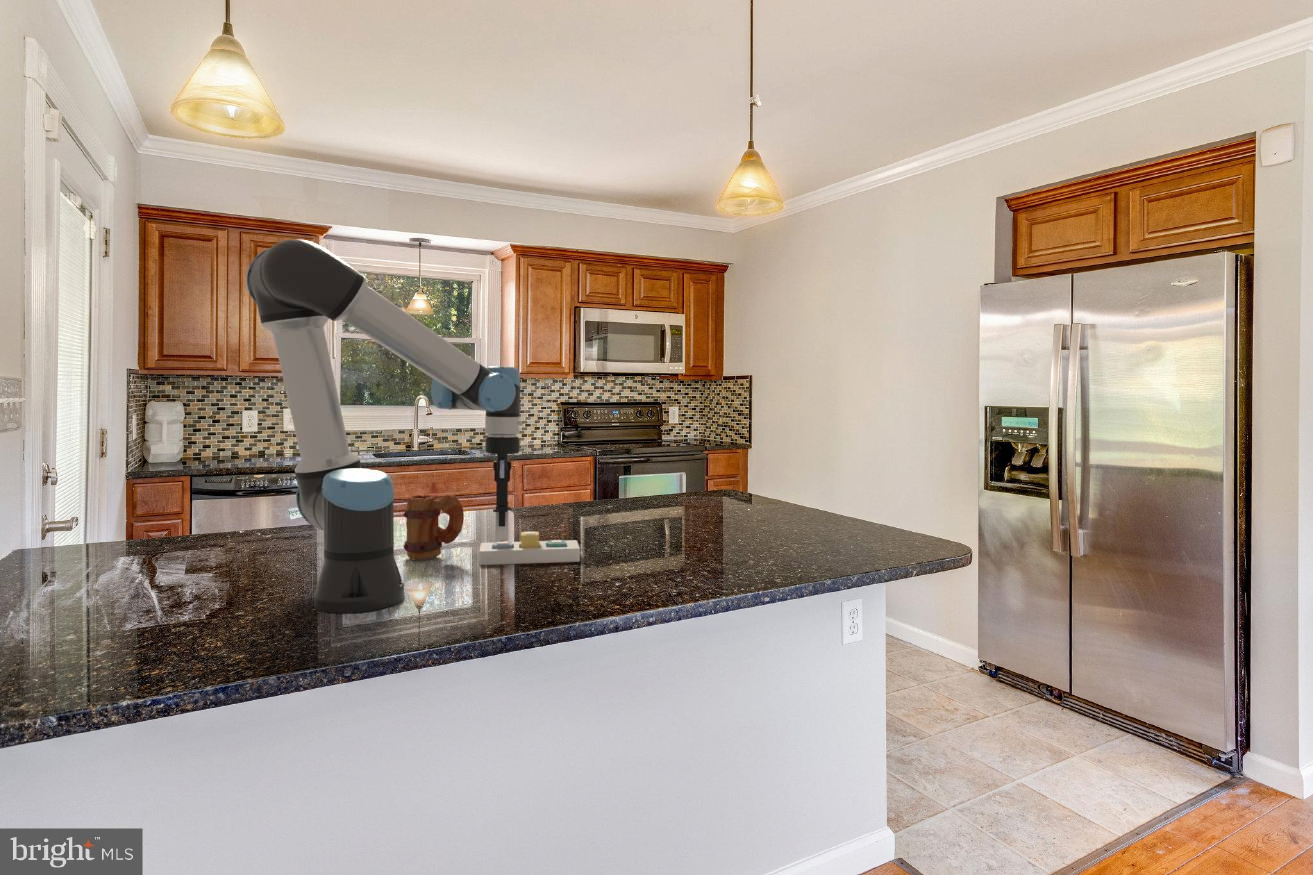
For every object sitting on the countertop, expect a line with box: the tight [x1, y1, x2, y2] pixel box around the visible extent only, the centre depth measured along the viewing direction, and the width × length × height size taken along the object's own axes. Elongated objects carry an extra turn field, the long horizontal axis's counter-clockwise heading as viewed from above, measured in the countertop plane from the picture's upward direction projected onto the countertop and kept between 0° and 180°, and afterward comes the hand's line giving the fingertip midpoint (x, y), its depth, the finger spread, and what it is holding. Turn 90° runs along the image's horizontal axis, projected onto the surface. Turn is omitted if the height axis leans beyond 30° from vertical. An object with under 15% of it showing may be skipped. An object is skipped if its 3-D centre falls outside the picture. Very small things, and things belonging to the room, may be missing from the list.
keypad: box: [478, 539, 581, 566], centre depth 164 cm, size 22×9×3 cm, turn 101°
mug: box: [402, 493, 465, 561], centre depth 162 cm, size 15×8×15 cm, turn 73°
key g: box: [546, 539, 566, 547], centre depth 166 cm, size 4×4×3 cm
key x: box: [520, 531, 540, 548], centre depth 164 cm, size 4×4×3 cm
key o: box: [493, 541, 513, 549], centre depth 163 cm, size 4×4×3 cm
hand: (501, 539), depth 163 cm, fingers closed
